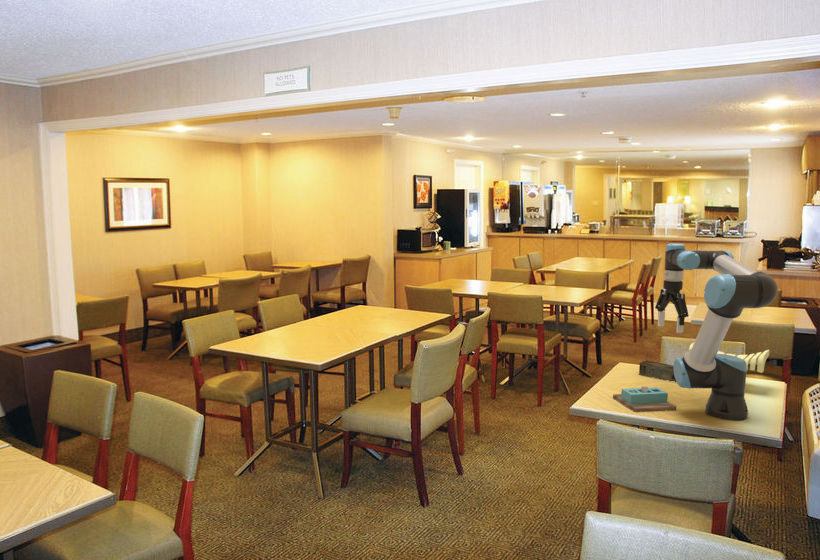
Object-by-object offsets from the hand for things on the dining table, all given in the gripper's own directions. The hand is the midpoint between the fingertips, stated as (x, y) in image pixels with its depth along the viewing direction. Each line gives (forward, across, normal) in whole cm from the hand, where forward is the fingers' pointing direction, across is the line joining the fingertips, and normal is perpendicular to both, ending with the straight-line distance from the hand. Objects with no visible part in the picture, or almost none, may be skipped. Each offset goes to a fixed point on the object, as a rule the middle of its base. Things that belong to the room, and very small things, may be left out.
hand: (670, 329), depth 273 cm
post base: (+28, +11, -17) cm, 35 cm away
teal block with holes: (+27, +11, -17) cm, 34 cm away
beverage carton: (+29, -24, +13) cm, 40 cm away
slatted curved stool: (+29, -7, +34) cm, 45 cm away
